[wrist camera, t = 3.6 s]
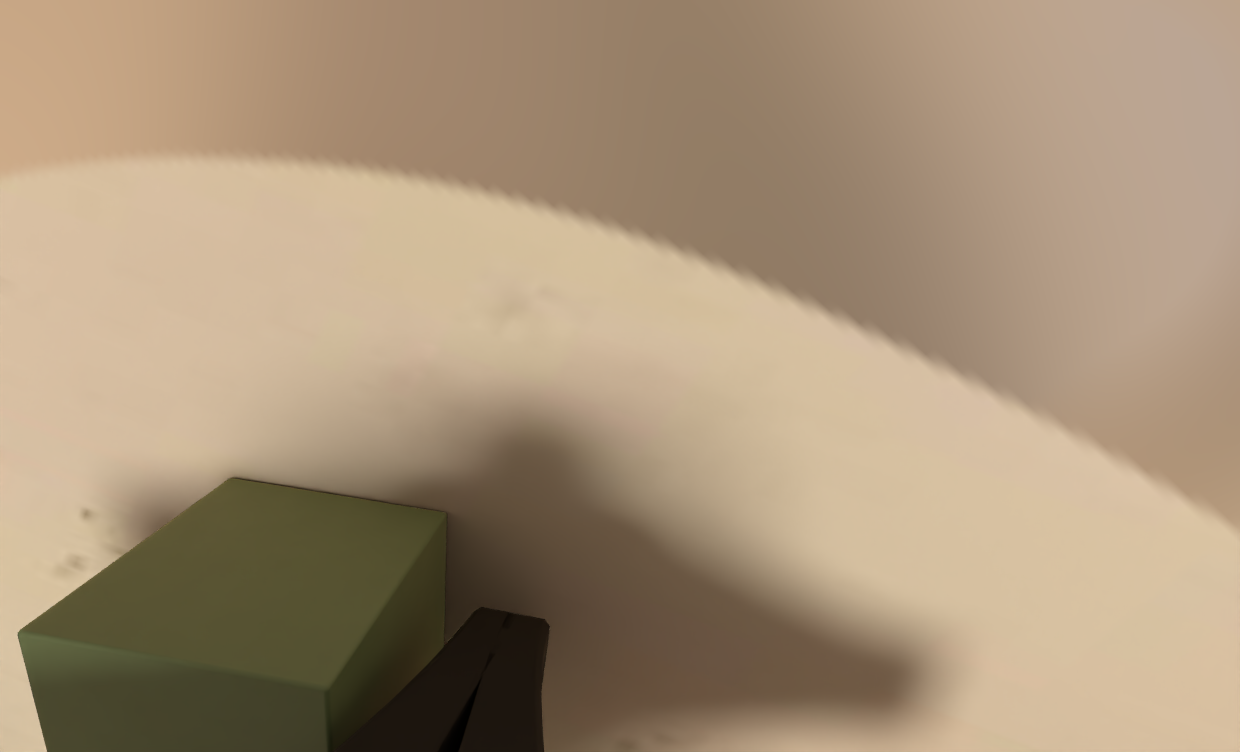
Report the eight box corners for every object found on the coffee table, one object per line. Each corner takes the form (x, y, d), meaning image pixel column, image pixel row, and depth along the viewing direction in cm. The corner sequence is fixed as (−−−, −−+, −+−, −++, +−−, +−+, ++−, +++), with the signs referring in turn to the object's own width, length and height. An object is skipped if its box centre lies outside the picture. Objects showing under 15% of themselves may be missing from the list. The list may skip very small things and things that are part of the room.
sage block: (444, 689, 13) (339, 911, 9) (248, 653, 13) (71, 856, 10) (448, 511, 12) (326, 688, 8) (229, 476, 12) (13, 631, 8)
